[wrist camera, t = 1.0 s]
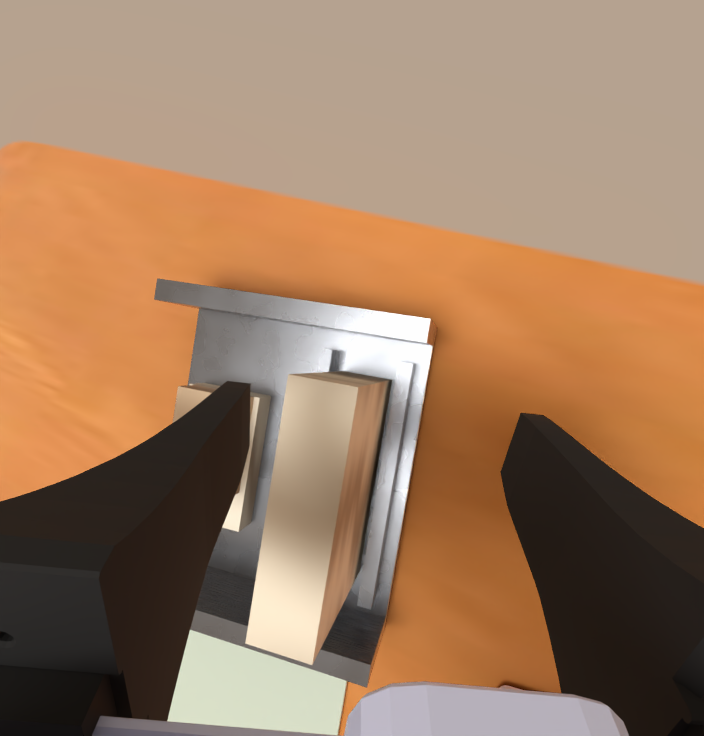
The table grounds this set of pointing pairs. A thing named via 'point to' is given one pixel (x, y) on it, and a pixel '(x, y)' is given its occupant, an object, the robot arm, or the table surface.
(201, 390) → the offcut upper
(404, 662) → the table surface
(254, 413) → the offcut lower
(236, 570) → the rack
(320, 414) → the wooden block
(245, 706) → the mat
